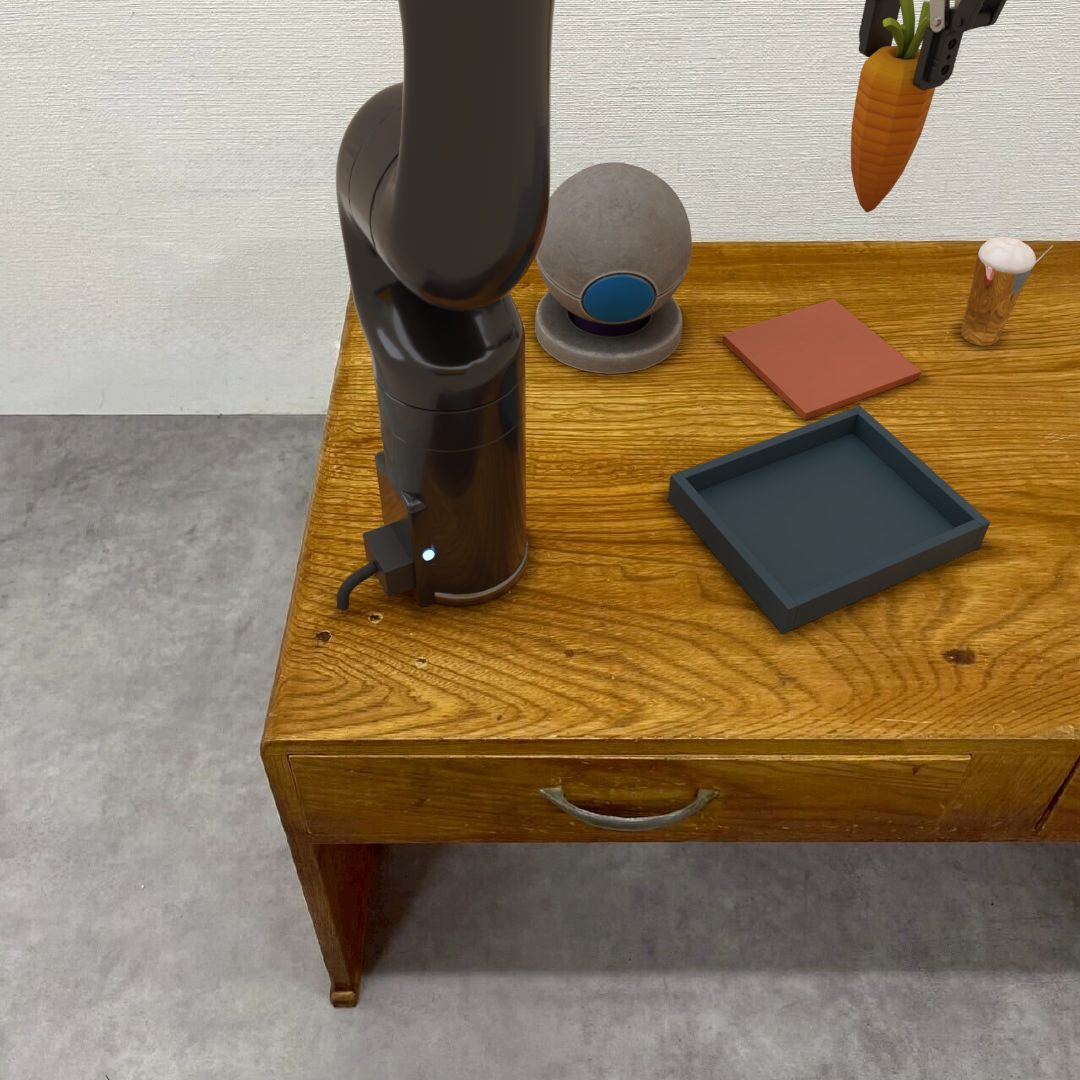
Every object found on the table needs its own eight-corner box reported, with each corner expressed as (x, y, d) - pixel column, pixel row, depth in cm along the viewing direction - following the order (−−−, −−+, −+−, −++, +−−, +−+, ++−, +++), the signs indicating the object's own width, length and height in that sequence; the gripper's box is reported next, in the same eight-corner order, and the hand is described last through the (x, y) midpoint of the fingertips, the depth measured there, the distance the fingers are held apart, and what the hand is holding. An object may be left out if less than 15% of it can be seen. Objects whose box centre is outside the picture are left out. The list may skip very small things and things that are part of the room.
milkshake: (1007, 360, 96) (1045, 259, 89) (945, 340, 98) (978, 239, 91) (1021, 333, 99) (1059, 233, 92) (961, 314, 101) (994, 215, 94)
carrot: (902, 233, 79) (961, 13, 68) (831, 225, 79) (877, 6, 69) (901, 197, 82) (957, -17, 71) (833, 190, 83) (877, -24, 72)
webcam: (671, 287, 104) (687, 133, 93) (691, 372, 95) (711, 213, 84) (531, 291, 103) (531, 136, 92) (538, 377, 95) (539, 217, 84)
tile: (804, 420, 91) (806, 413, 90) (721, 341, 98) (722, 334, 98) (919, 378, 95) (922, 371, 94) (831, 305, 102) (833, 298, 101)
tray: (782, 634, 75) (788, 609, 74) (667, 499, 84) (670, 474, 82) (980, 547, 81) (991, 522, 79) (853, 429, 90) (860, 404, 88)
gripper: (837, -261, 64) (788, 40, 77) (1016, -202, 55) (929, 127, 68) (939, -274, 67) (875, 20, 79) (1126, -219, 58) (1022, 102, 70)
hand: (900, 68), depth 73 cm, fingers closed on carrot, 5 cm apart
